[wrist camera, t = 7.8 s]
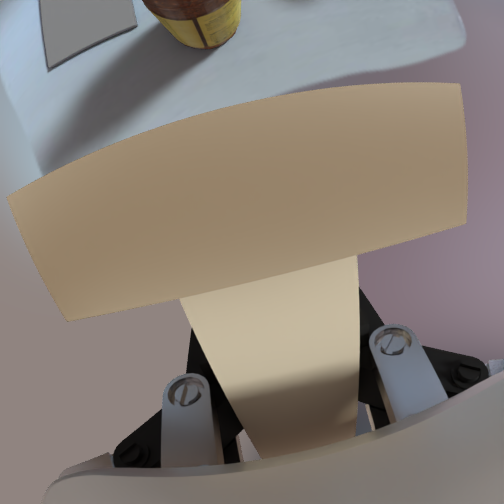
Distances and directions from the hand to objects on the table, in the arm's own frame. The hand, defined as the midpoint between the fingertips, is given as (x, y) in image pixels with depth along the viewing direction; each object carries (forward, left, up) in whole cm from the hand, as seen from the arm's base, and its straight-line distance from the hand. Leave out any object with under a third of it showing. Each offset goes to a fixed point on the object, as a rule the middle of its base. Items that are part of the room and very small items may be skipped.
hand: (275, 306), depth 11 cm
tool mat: (-29, -11, -19) cm, 37 cm away
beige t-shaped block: (0, 0, -1) cm, 1 cm away
